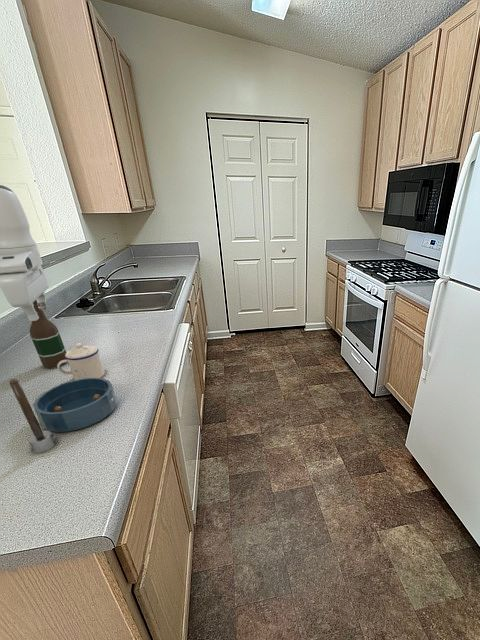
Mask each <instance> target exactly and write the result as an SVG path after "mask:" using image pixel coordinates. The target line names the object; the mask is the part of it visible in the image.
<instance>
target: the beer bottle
mask: <svg viewBox="0 0 480 640" xmlns="http://www.w3.org/2000/svg"><path fill="white" fill-rule="evenodd" d="M33 305H34V309H35V311H36V312H37V313H38V316H39V319H38V320H37V321H31V324H30V327H29V335H30V339H31V340H32V343H33V346H34V348H35V350H36V354H37V355H38V357H39V360H40V363H41V364H42V366H43V367H44V368H47V369H55V368H58V367H57V365H58V363H59V362H60V361H62V360H66V358H65V355H66V353H67V350H66V347H65V345H64V342H63V339H62V337H61V334H60V331H59V329H58V327H57V325H55V324H54V322H53V321H51V320H49V319H48V317H47V316H46V315H45V312H44V310H39V308H38V306H37V300H35V301H34V302H33ZM66 364H68V362H66V363H62V364H61V365H60V367H62V366H64V365H66Z"/></svg>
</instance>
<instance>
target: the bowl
mask: <svg viewBox="0 0 480 640" xmlns="http://www.w3.org/2000/svg"><path fill="white" fill-rule="evenodd" d="M113 387H114V385H113V384H112V383H111V381H110V380H109V379H106V378H103V377H101V378H96V377H95V378H83V379H77V380H75V379H73V380H70V381H66V382H63V383H60V384H58V385H56V386H53V387H51V388H50V389H47V390H46V391H44V392H42V393H41V394H40V395H39V396H38V397H36V399H35V401H34V402H33V409H34V412H35V414H36V416H37V419H38V420H39V422H40V425H41V428H43V429H45V430H48V431H50V432H56V433H62V432H72V431H77V430H80V429H84V428H88V427H90V426H92V425H94V424H96V423H98V422H100V421H101V420H104V419H105V418H107V416H109V415H110V414H111V413H112V412H113V411H114V410H115V409H116V407H117V403H118V400H117V396H116V393H115V390H114V388H113ZM95 394H100V395H101V396H102V397H100V398H99V399H97V400H94V395H95ZM56 406H60V407H62V409H63V410H62V412H54V411H53V409H54V408H55V407H56Z"/></svg>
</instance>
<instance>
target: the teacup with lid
mask: <svg viewBox="0 0 480 640" xmlns="http://www.w3.org/2000/svg"><path fill="white" fill-rule="evenodd" d="M65 358H66V360H62V361H60V362H59V363H58V365H57V367H56V368H57V370H58V371H59V372H60V373H61V374H63V375H67V376H68V375H69V376H70V375H72V376H73V380H77V379H83V378H95V377H96V378H103V376H104V375H105V374H106V371H105V367H104V365H103V362H102V359H101V356H100V353H99V348H98V347H97V346H95V345H86V344H83V342H78V343H75V347H73V348H71V349H70V350H67V351H66V355H65ZM66 362H67V363H66ZM62 363H66V364H68V366H69V368H70V371H66V370H64V369H63V368H62V366H60V365H61V364H62Z"/></svg>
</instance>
